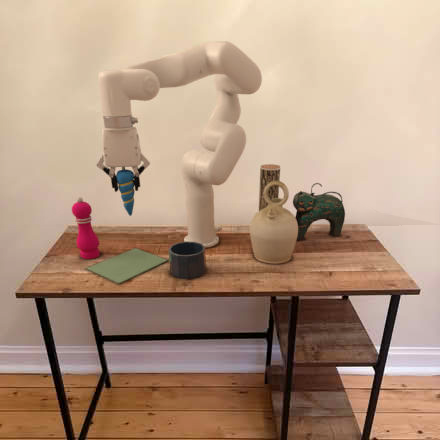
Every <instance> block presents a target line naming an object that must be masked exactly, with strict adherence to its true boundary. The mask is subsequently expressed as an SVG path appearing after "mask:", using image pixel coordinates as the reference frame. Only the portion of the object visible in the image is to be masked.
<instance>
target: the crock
mask: <svg viewBox="0 0 440 440" xmlns="http://www.w3.org/2000/svg"><path fill="white" fill-rule="evenodd" d="M168 261H169V272H170V273H171V275H172V276H173V277H176V278H179V279H186V280H190V279H195V278H199V277H201V276H203V275H205V272H206V271H207V262H206V261H207V260H206V248H205V247H204V246H203V244H200V243H197V242H188V241H186V242H184V241H180V242H176V243H173V244H172V245H170V246H169V248H168Z"/></svg>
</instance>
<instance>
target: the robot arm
mask: <svg viewBox="0 0 440 440" xmlns="http://www.w3.org/2000/svg"><path fill="white" fill-rule="evenodd" d="M213 75H214V87H215V89H216V90H215V91H216V97H217V99H216V100H217V101H216V105H215V107H214V110H213V112H212V114H211V115H210V118H209V119H208V120H207V122H206V124H205V126H204V128H203V130H202V132H201V135H200V145H201V146H202V147H203V149H204V150H203V149H202V150H201V149H191V150H189V151H187V152H186V153H184V155H183V156H182V159H181V165H180V167H181V173H182V177H183V182H184V188H185V203H186V223H187V235H186V236H185V237H184V238H183V242H186V241H188V242H197V243H200V244H203V246H204V247H205V249H207V248H211V247H215V246H216V245H218V244H219V242H220V238H219V236H218V235H217V233H218V232H221V231H222V230H223V226H222V225H220V224H218V225H217V226H215V194H214V193H215V191H214V187H213V186H221V185H223V184H224V183H226V181H227V180H228V179H229V178H230V176H231V174H232V173H233V171H234V169H235V167H236V165H237V164H238V162H239V160H240V158H241V156H242V154H243V153H244V151H245V148H246V144H247V135H246V131H245V129H244V128H243V127H242V126H241V125H240V124H238V121H239V120H240V118H241V114H242V113H241V111H242V108H241V103H240V99H239V98H240V97H239V95H253V94H255V93H256V92H258V91H259V89H260V87H261V85H262V81H263V76H262V72H261V69H260V67H259V66H258V65H257V63H256V62H254V61H253V59H251V58H250V57H249V56H248V55H247V54H246V53H245V52H244V51H242V49H240V48H239V47H238V46H237V45H235V44H234V43H233V42H231V41H228V40H218V41H217V40H216V41H214V40H213V41H205V42H202V43H198V44H196V45H193V46H190V47H188V48H185V49H181V50H179V51H176V52H173V53H169V54H165V55H162V56H159V57H157V58H153V59H148V60H144V61H142V62H141V61H140V62H137V63H135V64H133V65H130V66H126V67H124V68H122V69H120V70H110V69H109V70H101V71H99V72H98V74H97V84H98V89H99V90H98V91H99V99H100V104H101V111H102V118H103V125H104V127H103V128H102V131H101V132H102V133H101V142H102V144H101V145H102V155H101V156H100V158H99V160H98V161H97V162H96V167H97V168H99V169H100V170H101V171H103V172H104V173H105V174H106V175H107V176H108V177H109V178H110V183H111V189H114V192H115V193H117V192H118V191H119V188H118V186H119V184H118V182H117V180H116V174H117V173H116V168H122V167H125V168H130V167H131V168H132V172H133V173H134V179H133V180H134V191H136V192H138V191H139V188H141V179H140V176H141V174H142V173H143V172H144V171H145V170H146V169H147V168H148V167H149V166H150V165H151V161H150V160H149V159H148V158H147V157H146V156H145V155H144V154H143V153H142V150H141V144H140V143H141V142H140V137H139V134H138V129H137V127H136V126H134V125H135V124H138V123H139V118H138V117H134V116H133V114H132V104H131V101H140V102H141V101H142V102H147V101H151V100H153V99H155V98H156V97H157V96H158V94H159V92H160V89H167V88H168V89H169V88H178V87H184V86H187V85H189V84H192V83H194V82H197V81H199V80H201V79H204V78H206V77H208V76H213ZM205 150H206V151H205ZM142 162H143V163H142ZM141 163H142V165H141Z"/></svg>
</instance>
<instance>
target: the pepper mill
mask: <svg viewBox="0 0 440 440" xmlns="http://www.w3.org/2000/svg"><path fill="white" fill-rule="evenodd" d="M92 210H93V209H92V206H91V204H90V203H88V202H87V201H84V199H83V197H81V196H78V197H76V202H74V204H73V205H72V206H71V214H72V216H74V217H75V218H74V220H75V223H76V224H77V228H78V231H77V232H78V233H77V237H76V247H77V248H78V249H79V256H80V258H82V259H83V260H92V259H96V258H98V257H99V256H100V249H99V246H100V240H99V237H98V236H97V234H96V233H95V230H94V229H93V227H92V221H93V219H92V216H91V214H92V212H93V211H92Z"/></svg>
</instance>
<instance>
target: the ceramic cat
mask: <svg viewBox="0 0 440 440" xmlns="http://www.w3.org/2000/svg"><path fill="white" fill-rule="evenodd" d="M316 185H319V186H320V187H323V185H322V184H321V183H320V182H316V183H313V184H312V185H311V188H310V193H309V192H306V191H302V190H300V191H299V192H297V193H296V194H294V196H293V198H292V205H293V207H294V209H295V210H296V212H295V218H296V220H297V224H298V236H297V240H296V242H297V241H304V240H305V237H306V234H307V232H308V229H309V228H310V227H311V225H312V224H313V223H314V222H317V221H321V220H325V221H327V222H329V235H331V236H332V237H339V236H341V233H342V229H343V226H344V223H345V218H346V209H345V207H344V206H345V205H344V204H343V196H342V195H341V193H339V192H337V191H327V192H326V191H325V192H324V193H321V194H320V193H319V194H316V192H313V187H314V186H316ZM330 193H331V194H330ZM333 194H337V195H338V196H339V197H340V198H338V197H337V196H335V195H333Z"/></svg>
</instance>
